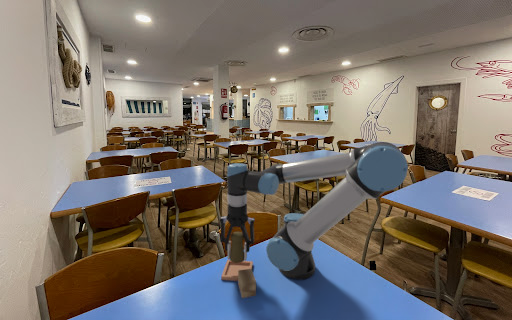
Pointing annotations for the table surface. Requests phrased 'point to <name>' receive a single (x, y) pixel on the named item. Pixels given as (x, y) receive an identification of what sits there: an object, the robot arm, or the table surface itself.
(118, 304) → the table surface
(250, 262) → the terracotta dish
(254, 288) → the oak block
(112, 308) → the table surface
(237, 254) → the cork
